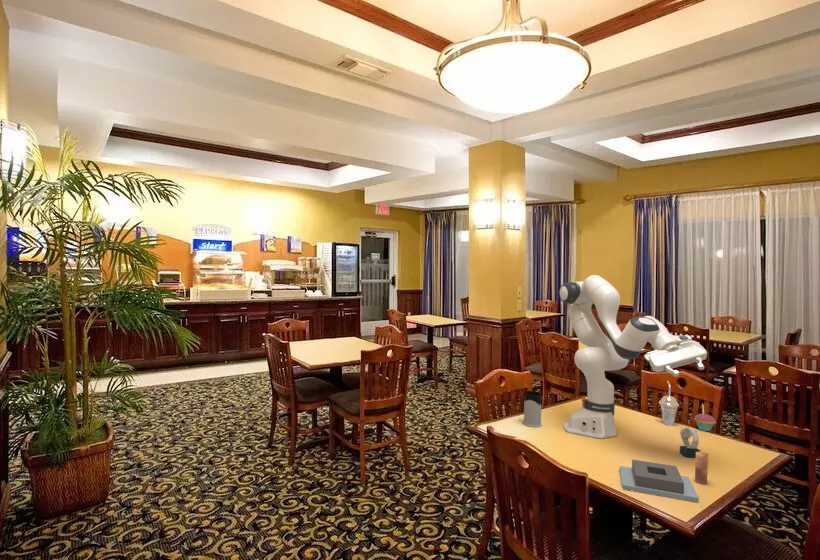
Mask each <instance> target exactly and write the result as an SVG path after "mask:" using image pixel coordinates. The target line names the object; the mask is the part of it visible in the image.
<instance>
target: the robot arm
mask: <svg viewBox="0 0 820 560" xmlns="http://www.w3.org/2000/svg"><path fill="white" fill-rule="evenodd" d="M558 291H559V292H558V295H559V298H560V300H561V302H562V303H564V304H568V305H569V307H568V309H567V310H568V311H567V314H568V317H569V321H570V324H571V325H572V329H573V331H574V333H575V335H576V337H577V340H578V341H579V342H580V343H581V344H582V345H585V346H586V347H583V348H580V349H579V348H578V349H577V351H575V354H574V357H573V358H574V364H575V366H576V367H577V368H578V369H579V370H580V371H581V372H582V373H583V375H584V376H585V379H586V384H587V388H586V389H587V394H586V395H587V398H585V397H582V398H581V402H582V406H581V407H579V408H578V409H575V410H574V411H572V413H571V414H570V415H569V419H568V421H565V422H564V424H563V429H564V431H565V432H567V433H571V434H575V435H581V436H586V437H590V438H591V437H592V438H594V439H600V440H601V439H605V438H612V437H615V436H617V434H618V432H617V429H616V424H615V411H616V405H615V401H614V399H615V398H614V397H615V386H614V384H613V383H612V382H611V381H610V380H609V379H607V378H606V374H605V371H618V370H621V369H624V368H626V367H627V366H628V364H629V362H630V360H633V359H637V358H638V357H639V356H640V354H641V353H642V350H643V348H644V347H645V346H646V345H647V343H650V344H651V347H652V349H654V350H652V351H651V350H650V351H647V352H646V353H645V354H644V356H643V357H644V359H645V360H646V361H647V362H648V364H649V365H650V367H651V368H652V370H653V371H654V372H655V373H661V372H664V371H666V373H669V374H671V375H672V376H673V377H675V378H677V377H679V376H680V372H679V371H678V370H677V369H675V368H679V367H682V366H687V365H691V364H693V363H694V364H695V363H696V364H697V366H696V367H697V369H698V370H699V371H702V370H705V365H704V364H703V362H702V361H704V360H706V359H707V357H708V352H707V349H705V348H704V346H703V345H701V343H699V342H697V341H696V340H693V339H692V337H691V335H688V334H687V335H676V334H675V335H673V334H672V333H671V332H669V330H668V328H667V327H666V326H665V325H664V324H663V323H661V322H660V321H659V320H658V319H657V318H655V317H654V316H651V315H645V316H635V317H632V318H630V319H629V321H628V322H627V324H626V325H625V327H624V328H623V330H622V331H621V329H620V327H619V325H618V324H617V315H618V313H619V312H618V311H619V308H620V305H621V304H620V303H621V296H620V293H619V291H618V290H617V289H616V287H614V286H613V285H612V284H611V283H610V282H609V281H608V280H606V279H605V278H604V277H602V276H600V275H598V274H597V275H596V274H592V275H590V276H588V277H586V278H585V279H584V280H582V281H580V280H579V281H568V282H565V283H563V284H561V286H560V288H559V290H558ZM592 308H595V310H596V313H597V318H598V320H596V318H595V316H594V314H593V311H592ZM597 321H598V322H599V323H600V325H601V327H602V328H601V327H600V325H599V323H598V322H597ZM602 329H603V330H604V331H603V330H602ZM604 332H605V333H604ZM674 369H675V370H674Z"/></svg>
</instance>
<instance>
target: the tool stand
mask: <svg viewBox="0 0 820 560" xmlns="http://www.w3.org/2000/svg"><path fill="white" fill-rule="evenodd" d="M620 475H621V476H620ZM619 476H620V481H621V482H622V483H621V488H623V489H622V490H624V489H627V490H626V491H629V490H633V491H632V492H635V491H638V492H637V493H641V492H644V493H643V494H646V493H648V495H652V494H654V495H653V496H658V495H660V496H659V497H663V496H666V497H665V498H669V497H671V499H675V498H677V499H676V500H680V499H683V500H682V501H686V500H689V501H688V502H692V501H695V502H694V503H697V502H699V501H700V497H699V496H698V493H697V491H696V490H695V487H694V485H693V483H692V481H691V479H690V477H689V476H685V475H681V473H680V471H679V469H678V467H677V465H676V466H675V465H671V464H663V463H658V462H652V461H645V460H640V459H639V460H638V459H631V467H629V466H624V465H619Z"/></svg>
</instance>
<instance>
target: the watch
mask: <svg viewBox="0 0 820 560" xmlns="http://www.w3.org/2000/svg"><path fill="white" fill-rule="evenodd" d="M679 434H680V437H681V440H682V443H683V445H680V446H679V454H680V455H681V456H683V457H684V458H686V459H696V452H701V449H699V448H698V446H699V439H700V438H699V433H698V431H697V430H696V429H695V428H693V427H683V428H682V429H680V431H679ZM691 437H692V441H691V443H690V438H691Z"/></svg>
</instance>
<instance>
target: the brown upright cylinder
mask: <svg viewBox="0 0 820 560" xmlns="http://www.w3.org/2000/svg"><path fill="white" fill-rule="evenodd" d="M708 463H709V454H708V453H706V452H703V451H700V452H696V458H695V464H694V465H695V468H694V470H695V471H694V482H695V483H696V484H700V485H708V471H709V469H708V467H709V466H708V465H709V464H708Z"/></svg>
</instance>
